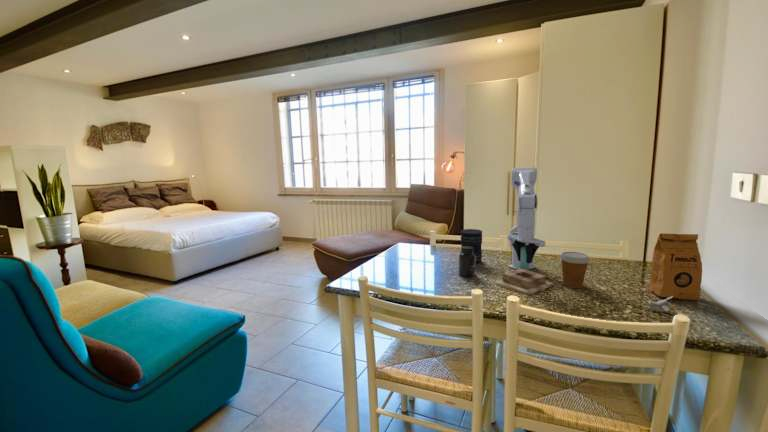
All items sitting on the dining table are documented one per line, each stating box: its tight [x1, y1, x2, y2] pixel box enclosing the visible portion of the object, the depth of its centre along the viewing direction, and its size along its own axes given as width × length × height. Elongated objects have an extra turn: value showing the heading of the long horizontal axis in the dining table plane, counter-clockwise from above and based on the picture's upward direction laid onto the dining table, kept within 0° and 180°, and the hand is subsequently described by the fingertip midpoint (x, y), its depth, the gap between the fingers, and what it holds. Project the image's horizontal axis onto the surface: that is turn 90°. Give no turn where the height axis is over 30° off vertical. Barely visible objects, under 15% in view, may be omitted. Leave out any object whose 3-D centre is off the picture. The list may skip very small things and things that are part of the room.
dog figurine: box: [647, 296, 674, 313], centre depth 105 cm, size 3×8×6 cm
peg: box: [520, 247, 530, 270], centre depth 129 cm, size 3×3×8 cm
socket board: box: [494, 269, 554, 296], centre depth 130 cm, size 16×14×4 cm
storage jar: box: [460, 228, 483, 266], centre depth 160 cm, size 10×10×15 cm
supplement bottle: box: [458, 246, 476, 278], centre depth 142 cm, size 7×7×12 cm
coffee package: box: [648, 232, 703, 301], centre depth 115 cm, size 10×12×22 cm
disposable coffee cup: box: [559, 251, 590, 289], centre depth 127 cm, size 10×10×12 cm
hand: (524, 261), depth 129 cm, fingers closed on peg, 3 cm apart
